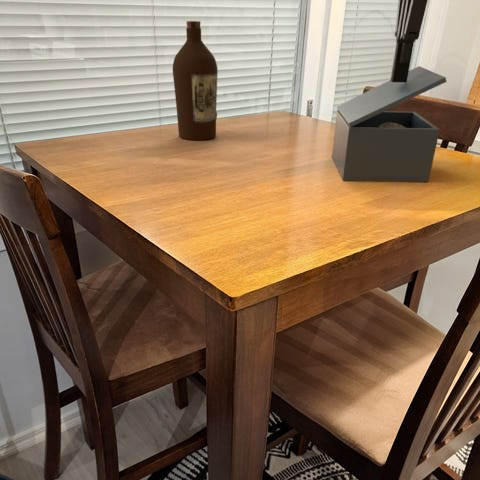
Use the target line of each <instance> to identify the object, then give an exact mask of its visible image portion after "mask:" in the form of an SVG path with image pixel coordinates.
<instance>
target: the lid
mask: <svg viewBox="0 0 480 480" xmlns="http://www.w3.org/2000/svg"><path fill="white" fill-rule="evenodd" d="M445 83H447V77H446V76H444V75H441V74H439V73H436V72H435V71H434V72H433V71H432V70H429V69H427V68H425V67H422V66H420V65H418V66H417V67H414V68H413V69H409V72H408V78H407V83H405V82H391V79H389V80H388V81H385V82H383V83H381V84H379V85H377V86H375V87H373V88H371V89H368V90H367V91H365V92H363V93H361V94H358V95H356V96H355V97H353V98H351V99H349V100H347V101H344V102H342V103H341V104H339V105H337V106H336V109H337V111H339V112H340V114H341V115H342V117H343V118H344V119H345V121H346V122H347V124H348V125H349V126H350V127H352V126H354V125H356V124H358V123H361V122H363V121H365V120H367V119H369V118H371V117H373V116H375V115H377V114H380V113H382V112H384V111H389V110H390V109H392V108H394V107H396V106H399V105H401V104H403V103H405V102H407V101H409V100H412V99H413V98H415V97H418V96H419V95H420V96H421V95H422V94H424V93H426V92H428V91H430V90H432V89H434V88H436V87H438V86H441V85H443V84H445Z"/></svg>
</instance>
